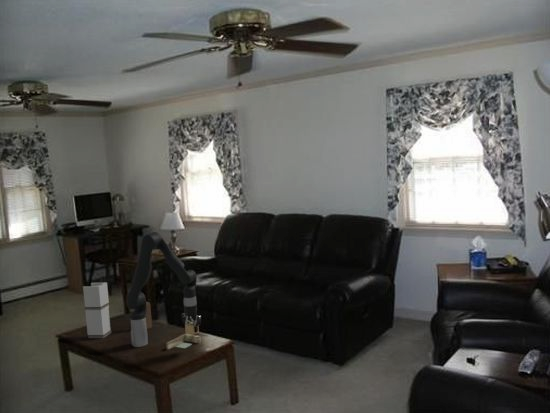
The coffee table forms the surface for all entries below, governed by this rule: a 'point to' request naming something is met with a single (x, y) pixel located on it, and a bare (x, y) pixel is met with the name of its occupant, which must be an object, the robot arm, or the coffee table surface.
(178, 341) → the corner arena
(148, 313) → the wooden block
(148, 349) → the coffee table surface
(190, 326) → the ochre cube
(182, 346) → the pad
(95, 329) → the stacked white cabinet
